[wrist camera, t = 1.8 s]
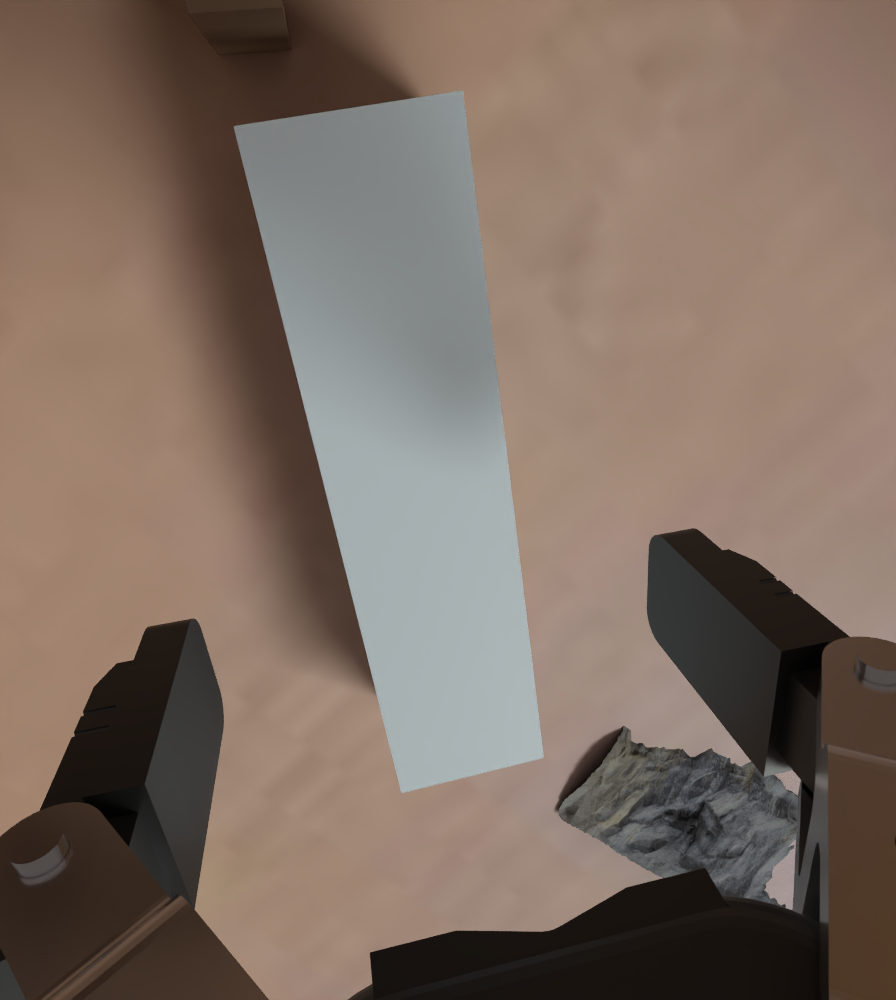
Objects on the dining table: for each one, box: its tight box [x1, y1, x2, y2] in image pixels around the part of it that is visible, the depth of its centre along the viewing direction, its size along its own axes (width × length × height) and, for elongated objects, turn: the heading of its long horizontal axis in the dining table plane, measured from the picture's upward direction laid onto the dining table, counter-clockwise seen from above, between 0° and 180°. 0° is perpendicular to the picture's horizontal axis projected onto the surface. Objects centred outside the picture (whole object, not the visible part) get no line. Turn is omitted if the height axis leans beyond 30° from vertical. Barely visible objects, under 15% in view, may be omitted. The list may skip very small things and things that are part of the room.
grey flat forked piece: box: [559, 726, 798, 908], centre depth 28 cm, size 21×7×2 cm, turn 44°
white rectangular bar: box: [234, 91, 544, 793], centre depth 17 cm, size 4×16×4 cm, turn 8°
